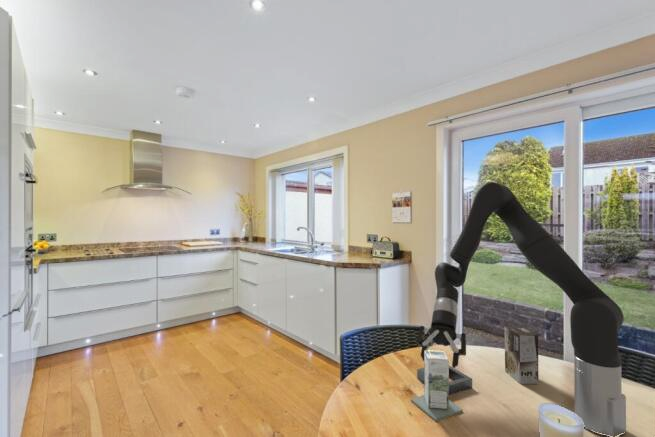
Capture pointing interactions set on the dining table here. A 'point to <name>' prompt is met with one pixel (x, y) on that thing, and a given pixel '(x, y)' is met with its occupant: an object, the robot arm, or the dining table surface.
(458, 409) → the slate coaster
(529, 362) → the coffee box
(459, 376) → the socket block
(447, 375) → the syrup box
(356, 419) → the dining table surface
